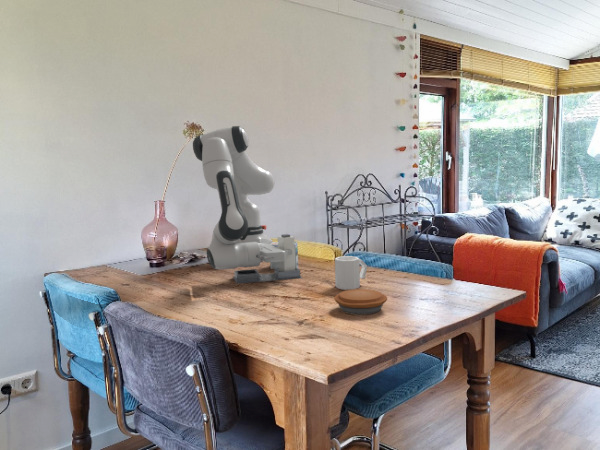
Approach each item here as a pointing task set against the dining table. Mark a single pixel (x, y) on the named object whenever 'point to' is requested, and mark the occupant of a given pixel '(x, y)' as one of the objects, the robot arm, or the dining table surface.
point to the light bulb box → (276, 264)
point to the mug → (349, 272)
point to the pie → (360, 301)
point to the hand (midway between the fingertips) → (288, 250)
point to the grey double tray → (264, 275)
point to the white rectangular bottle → (289, 264)
